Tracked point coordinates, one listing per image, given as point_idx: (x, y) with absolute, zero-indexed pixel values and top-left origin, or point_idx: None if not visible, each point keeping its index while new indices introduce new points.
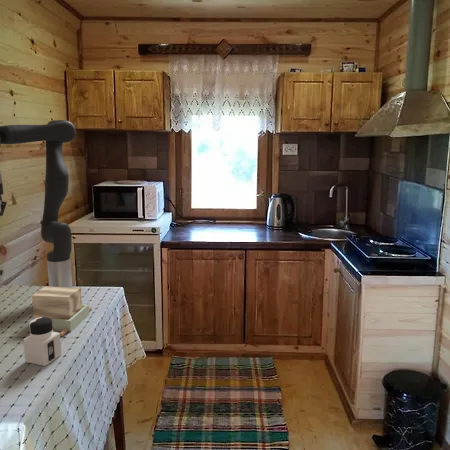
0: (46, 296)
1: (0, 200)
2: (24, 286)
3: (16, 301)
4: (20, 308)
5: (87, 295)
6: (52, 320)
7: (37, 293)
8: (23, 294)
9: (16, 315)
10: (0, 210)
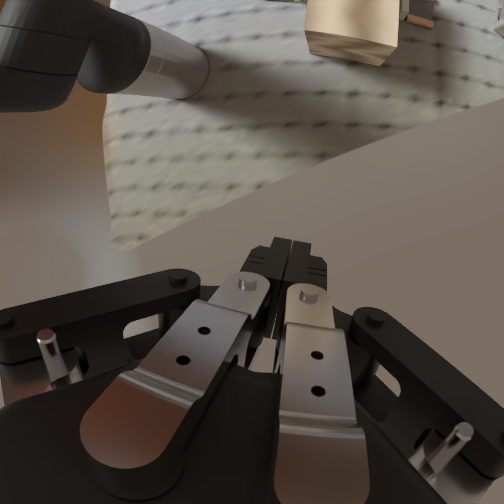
0: (398, 5)
1: (96, 440)
2: (113, 207)
3: (209, 178)
4: (259, 145)
5: (164, 18)
6: (408, 10)
7: (379, 34)
8: (161, 183)
9: (310, 135)
10: (205, 310)
